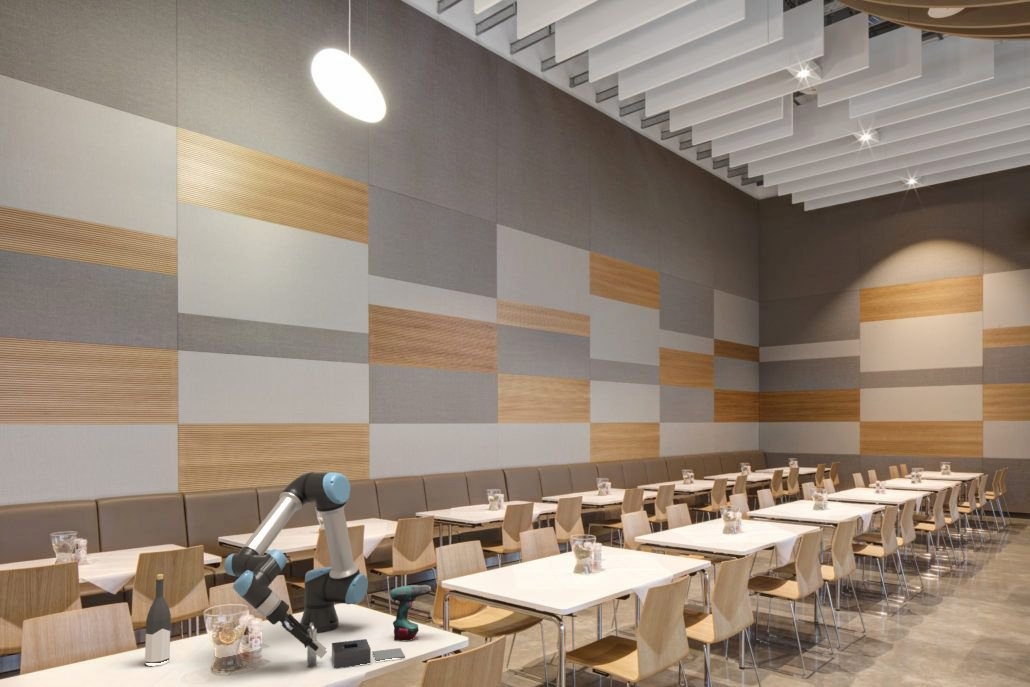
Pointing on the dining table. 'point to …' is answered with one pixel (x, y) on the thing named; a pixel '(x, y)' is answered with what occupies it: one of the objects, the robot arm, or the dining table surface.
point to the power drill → (406, 610)
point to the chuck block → (351, 653)
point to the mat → (388, 654)
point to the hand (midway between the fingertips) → (323, 653)
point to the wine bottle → (158, 627)
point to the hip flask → (310, 654)
